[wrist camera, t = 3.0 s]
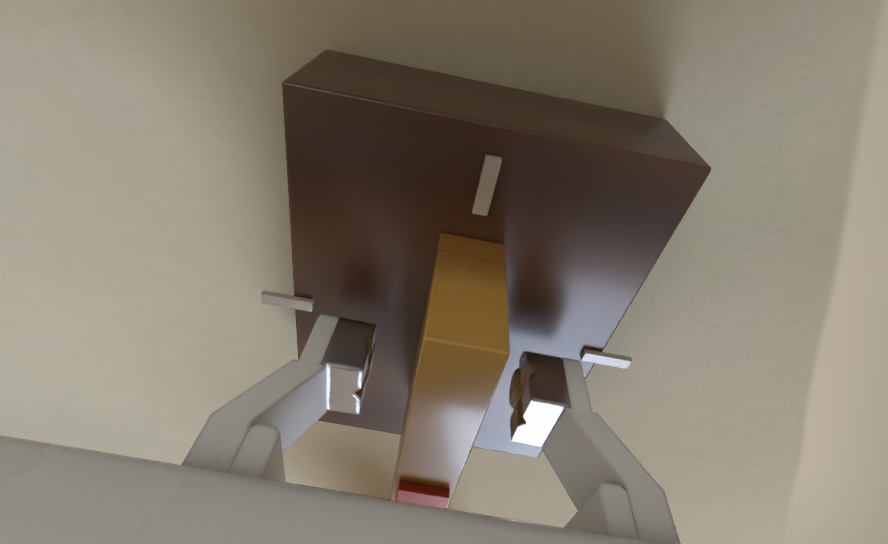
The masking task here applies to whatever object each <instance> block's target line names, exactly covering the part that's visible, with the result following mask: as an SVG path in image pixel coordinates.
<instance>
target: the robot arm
mask: <svg viewBox="0 0 888 544" xmlns="http://www.w3.org/2000/svg"><path fill="white" fill-rule="evenodd" d="M376 335H377V324H372V323H367V322H362V321H357V320H352V319H347V318H343V317H336V316H331V315H326V314H321V315H320V316H319V317H318V319H317V321H316V323H315V325H314V327H313V330H312V332H311V334H310V336H309V339H308V341H307V343H306V345H305V348H304V350H303V352H302V354H301V357H300V359H299V361H298V360H292V361H290V362H289V363H287V364H286V365H284V366H283V367H281V368H280V369H278V370H277V371H275V372H274V373H272V374H271V375H269V376H268V377H266V378H265V379H263V380H262V381H260V382H259V383H257V384H256V385H254V386H253V387H251V388H250V389H248V390H247V391H245V392H244V393H242V394H240V395H239V396H237V397H236V398H234V399H233V400H231V401H230V402H228V403H227V404H225V405H224V406H222V407H221V408H219V409H218V410H216V411H215V412H213V413H212V414H211V415H210V417H209V419H208V420H207V422H206V424H205V425H204V427H203V429H202V431H201V432H200V434H199V436H198V437H197V439H196V441H195V443H194V444H193V446H192V448H191V449H190V451H189V453H188V455H187V456H186V458H185V460H184V461H183V463H182V465H177V464H171V463H165V462H159V461H153V460H147V459H141V458H135V457H129V456H123V455H117V454H111V453H105V452H99V451H93V450H87V449H80V448H74V447H68V446H62V445H56V444H50V443H44V442H38V441H32V440H26V439H20V438H14V437H8V436H2V435H0V544H680V541H679V538H678V534H677V531H676V528H675V525H674V521H673V518H672V515H671V512H670V508H669V505H668V502H667V499H666V496H665V492H664V491H663V489H662V488H661V487H660V486H659V485H658V484H657V482H656V481H655V480H654V479H653V478H652V477H651V475H650V474H649V473H648V472H647V471H646V469H645V468H644V467H643V466H642V465H641V464H640V462H639V461H638V460H637V459H636V458H635V457H634V455H633V454H632V453H631V452H630V451H629V450H628V448H627V447H626V446H625V445H624V444H623V443H622V441H621V440H620V439H619V438H618V437H617V436H616V434H615V433H614V432H613V431H612V430H611V429H610V427H609V426H608V425H607V424H606V423H605V421H604V420H603V419H602V418H601V417H600V416H599V414H598V413H593V412H592V409H591V404H590V400H589V395H588V391H587V386H586V382H585V377H584V373H583V368H582V364H581V362H580V361H579V360H574V359H569V358H563V357H558V356H552V355H546V354H540V353H534V352H528V351H524V352H523V353H522V355H521V357H520V359H519V366H520V368H518V369H516V370H515V371H514V373H513V376H512V378H511V383H510V389H509V404H510V406H511V407H512V408H513V410H514V411H513V413H512V415H511V417H510V430H511V441H514V442H519V443H524V444H529V445H534V446H539V447H542V450H543V452H544V454H545V455H546V457H547V459H548V460H549V462H550V464H551V465H552V467H553V469H554V471H555V472H556V474H557V476H558V477H559V479H560V481H561V483H562V484H563V486H564V488H565V489H566V491H567V493H568V495H569V496H570V498H571V500H572V501H573V503H574V505H575V507H576V508H577V510H578V512H577V513H576V514H575V515H574V516H573V518H572V519H571V520H570V521H569V522H568V523H567V525H566V526H565V527H564V528H561V527H555V526H549V525H543V524H536V523H530V522H524V521H518V520H512V519H506V518H500V517H494V516H488V515H482V514H476V513H470V512H464V511H458V510H452V509H445V508H439V507H433V506H427V505H421V504H415V503H409V502H403V501H397V500H390V499H384V498H378V497H372V496H366V495H360V494H354V493H348V492H342V491H336V490H330V489H323V488H317V487H311V486H305V485H299V484H293V483H287V482H286V480H285V472H284V463H283V454H282V453H283V452H284V451H286V450H287V449H288V448H289V447H290V446H291V445H292V444H293V443H294V442H295V441H296V440H297V439H298V438H299V437H300V436H301V435H303V434H304V433H305V432H306V431H307V430H308V429H309V428H310V427H311V426H312V425H313V424H314V423H315V422H316V421H317V420H319V419H320V418H321V417H322V416H323V415H324V414H325V413H326V410H330V411H337V412H344V413H351V414H357V415H359V413H360V409H361V406H362V402H363V398H364V395H365V388H366V381H367V380H368V379H369V376H370V372H371V368H372V363H373V359H374V353H375V344H374V342H375V338H376Z"/></svg>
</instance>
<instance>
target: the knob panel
mask: <svg viewBox="0 0 888 544" xmlns="http://www.w3.org/2000/svg"><path fill="white" fill-rule="evenodd" d="M282 91H283V108H284V124H285V141H286V158H287V175H288V192H289V209H290V226H291V243H292V260H293V277H294V294H295V296H291V295H285V294H280V293H274V292H269V291H263V292H262V303H265V304H271V305H276V306H282V307H287V308H293V309H295V311H296V328H297V345H298V361H299V359H300V357H301V354H302V352H303V350H304V348H305V345H306V343H307V341H308V339H309V336H310V334H311V332H312V330H313V327H314V325H315V323H316V321H317V319H318V317H319V316H320V315H321V314H326V315H331V316H336V317H343V318H347V319H352V320H357V321H362V322H367V323H372V324H377V335H376V338H375V342H374V344H375V353H374V359H373V363H372V368H371V372H370V376H369V379H368V380H367V381H366V388H365V395H364V398H363V402H362V406H361V409H360V413H359V415H357V414H351V413H344V412H337V411H330V410H326V413H325V414H324V415H323V416H322V417H321V418H320V419H319V420H318V421H324V422H330V423H336V424H342V425H348V426H354V427H359V428H365V429H371V430H377V431H383V432H389V433H395V434H400V435H401V432H402V426H403V421H404V415H405V409H406V404H407V398H408V392H409V387H410V382H411V377H412V372H413V367H414V362H415V357H416V352H417V347H418V342H419V337H420V332H421V327H422V322H423V317H424V312H425V307H426V302H427V297H428V292H429V287H430V282H431V277H432V272H433V267H434V262H435V257H436V252H437V247H438V242H439V237H440V234H441V233H446V234H452V235H457V236H462V237H467V238H473V239H478V240H483V241H488V242H494V243H499V244H503V245H505V259H506V280H507V300H508V321H509V342H510V355H509V358H508V360H507V363H506V365H505V368H504V370H503V372H502V375H501V377H500V380H499V382H498V385H497V387H496V390H495V392H494V395H493V397H492V400H491V402H490V405H489V407H488V410H487V412H486V415H485V417H484V419H483V422H482V424H481V427H480V429H479V432H478V434H477V437H476V439H475V442H474V444H473V447H477V448H483V449H488V450H494V451H500V452H506V453H512V454H518V455H524V456H529V457H535V458H538V457H539V455H540V454H541V452H542V447H539V446H534V445H529V444H524V443H519V442H514V441H511V430H510V417H511V415H512V413H513V411H514V410H513V408H512V407H511V406H510V404H509V389H510V383H511V378H512V376H513V373H514V371H515V370H516V369H518V368H520V366H519V359H520V357H521V355H522V353H523V352H524V351H528V352H534V353H540V354H546V355H552V356H558V357H563V358H569V359H574V360H579V361H580V362H581V364H582V368H583V373H584V377H585V379H586V377H587V375H588V374H589V372H590V370H591V369H592V367H593V366H594V364H595V363H597V364H602V365H608V366H614V367H619V368H625V369H627V368H628V367H629V365H630V364H631V362H632V359H631V357H626V356H621V355H615V354H610V353H604V352H602V351H603V349H604V347H605V346H606V344H607V342H608V341H609V339H610V337H611V336H612V334H613V332H614V331H615V329H616V327H617V326H618V324H619V322H620V321H621V319H622V317H623V316H624V314H625V312H626V311H627V309H628V307H629V306H630V304H631V302H632V301H633V299H634V297H635V296H636V294H637V292H638V291H639V289H640V287H641V286H642V284H643V282H644V281H645V279H646V277H647V276H648V274H649V273H650V271H651V269H652V268H653V266H654V264H655V263H656V261H657V259H658V258H659V256H660V254H661V253H662V251H663V249H664V248H665V246H666V244H667V243H668V241H669V239H670V238H671V236H672V234H673V233H674V231H675V229H676V228H677V226H678V224H679V223H680V221H681V219H682V218H683V216H684V214H685V213H686V211H687V209H688V208H689V206H690V204H691V203H692V201H693V199H694V198H695V196H696V194H697V193H698V191H699V189H700V188H701V186H702V184H703V183H704V181H705V180H706V178H707V176H708V175H709V173H710V171H711V167H710V166H709V165H708V164H707V163H706V162H705V161H704V160H703V159H702V158H701V157H700V156H699V154H698V153H697V152H696V151H695V150H694V149H693V148H692V147H691V146H690V145H689V144H688V143H687V142H686V140H685V139H684V138H683V137H682V136H681V135H680V134H679V133H678V132H677V131H676V130H675V129H674V128H673V127H672V125H671V124H670V123H669V122H668V121H667V120H665V119H660V118H655V117H650V116H645V115H640V114H636V113H631V112H626V111H621V110H616V109H611V108H606V107H602V106H597V105H592V104H587V103H582V102H577V101H572V100H568V99H563V98H558V97H553V96H548V95H543V94H538V93H534V92H529V91H524V90H519V89H514V88H509V87H504V86H500V85H495V84H490V83H485V82H480V81H475V80H470V79H466V78H461V77H456V76H451V75H446V74H441V73H436V72H432V71H427V70H422V69H417V68H412V67H407V66H402V65H398V64H393V63H388V62H383V61H378V60H373V59H368V58H364V57H359V56H354V55H349V54H344V53H339V52H334V51H330V50H325V51H324V52H322V53H321V54H320V55H318V56H317V57H316V58H314V59H313V60H312V61H310V62H309V63H307V64H306V65H305V66H303V67H302V68H301V69H299V70H298V71H296V72H295V73H294V74H292V75H291V76H290V77H288V78H287V79H285V80H284V81H283V83H282Z"/></svg>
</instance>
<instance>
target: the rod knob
mask: <svg viewBox="0 0 888 544" xmlns="http://www.w3.org/2000/svg"><path fill="white" fill-rule="evenodd" d="M509 355H510V342H509V321H508V300H507V280H506V259H505V245H503V244H499V243H494V242H488V241H483V240H478V239H473V238H467V237H462V236H457V235H452V234H446V233H441V234H440V237H439V242H438V247H437V252H436V257H435V262H434V267H433V272H432V277H431V282H430V287H429V292H428V297H427V302H426V307H425V312H424V317H423V322H422V327H421V332H420V337H419V342H418V347H417V352H416V357H415V362H414V367H413V372H412V377H411V382H410V387H409V392H408V398H407V404H406V409H405V415H404V421H403V426H402V432H401V438H400V444H399V449H398V455H397V461H396V466H395V472H394V478H393V483H392V489H391V495H390V499H391V500H397V501H403V502H409V503H415V504H421V505H427V506H433V507H439V508H445V509H446V508H448V506H449V504H450V501H451V499H452V496H453V494H454V491H455V489H456V486H457V484H458V481H459V479H460V476H461V474H462V471H463V469H464V466H465V464H466V462H467V459H468V457H469V454H470V452H471V449H472V447H473V444H474V442H475V439H476V437H477V434H478V432H479V429H480V427H481V424H482V422H483V419H484V417H485V415H486V412H487V410H488V407H489V405H490V402H491V400H492V397H493V395H494V392H495V390H496V387H497V385H498V382H499V380H500V377H501V375H502V372H503V370H504V368H505V365H506V363H507V360H508V358H509Z"/></svg>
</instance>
